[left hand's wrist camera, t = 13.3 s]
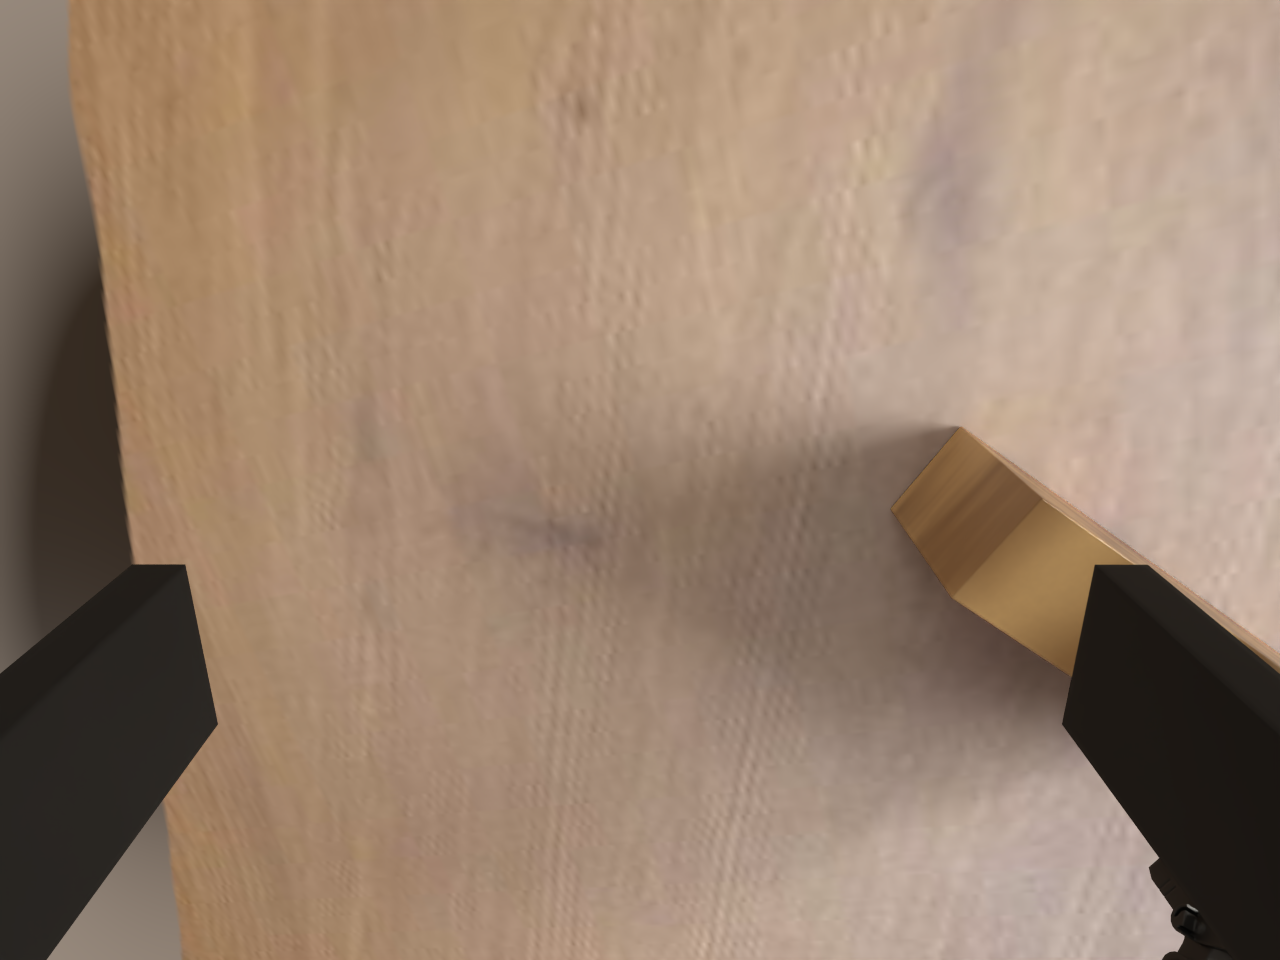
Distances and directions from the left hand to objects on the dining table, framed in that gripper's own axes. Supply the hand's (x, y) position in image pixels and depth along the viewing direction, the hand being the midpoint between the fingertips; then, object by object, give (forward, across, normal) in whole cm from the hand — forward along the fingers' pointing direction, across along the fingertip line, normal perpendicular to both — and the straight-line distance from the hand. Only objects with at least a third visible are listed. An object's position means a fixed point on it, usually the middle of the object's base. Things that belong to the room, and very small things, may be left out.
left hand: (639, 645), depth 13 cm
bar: (+28, +22, -14) cm, 38 cm away
